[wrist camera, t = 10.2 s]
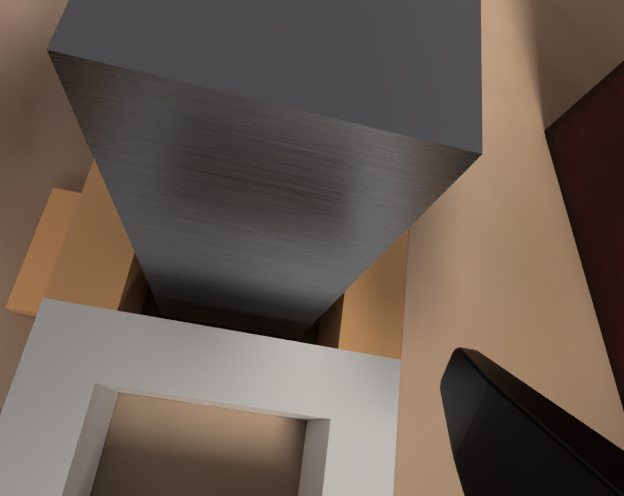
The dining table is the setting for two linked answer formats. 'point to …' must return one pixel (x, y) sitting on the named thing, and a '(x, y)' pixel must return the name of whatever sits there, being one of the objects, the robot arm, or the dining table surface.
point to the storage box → (597, 201)
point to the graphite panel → (270, 139)
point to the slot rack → (187, 361)
